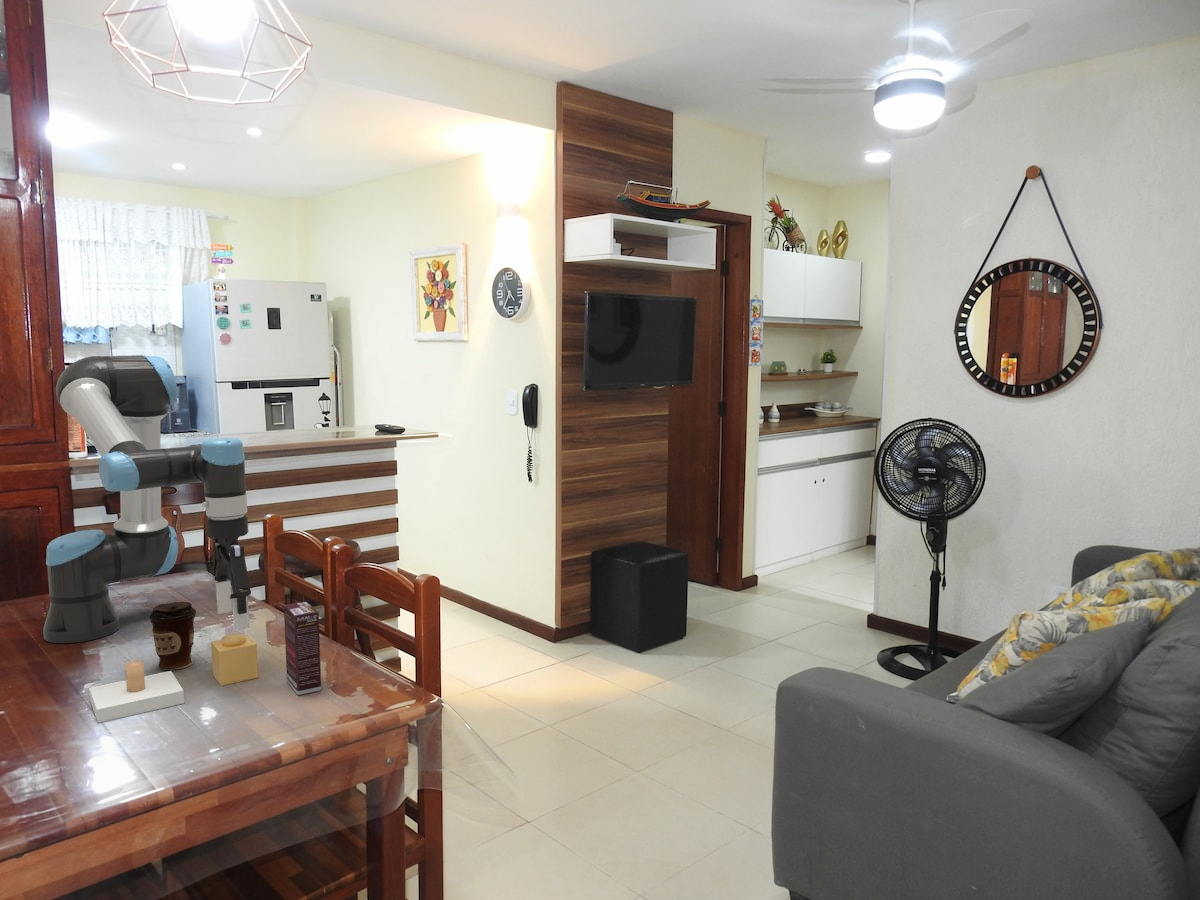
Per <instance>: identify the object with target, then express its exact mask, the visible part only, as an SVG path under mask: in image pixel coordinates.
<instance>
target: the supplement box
mask: <svg viewBox="0 0 1200 900" xmlns="http://www.w3.org/2000/svg"><path fill="white" fill-rule="evenodd" d="M283 617H284V620H283V621H284V622H283V623H284V636H285V637H284V640H285V641H284V642H285V643H284V644H285V664H286V665H285V666H286V668H285V669H286V682H287V684H288V685H289V686H290V687H291V689H292V690H293V691H294V692H295V694H296V695H297V696H301V695H306V694H312V693H316V692H320V691H322V675H321V674H322V672H321V670H322V668H321V644H320V643H321V642H320V613H319V611H318V610H317V609H315V607H313V606H312V605H311V604H310V603H309V602H308V601H302V602H301V601H299V602H294V603H288V604H284V605H283Z"/></svg>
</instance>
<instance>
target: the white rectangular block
mask: <svg viewBox="0 0 1200 900" xmlns="http://www.w3.org/2000/svg"><path fill="white" fill-rule="evenodd" d="M144 664H145V663H144V661H143V660H132V661H128V662H126V663H125V665H124V668H125V669H124V670H125V680H124V679H123V680H121V681H116V682H110V683H106V684H101V685H96V686H91V687H89V688H88V690H89V701H90V704H91V707H92V710H93V713H94V715H95V719H96V722H97V724H100V723H104V722H108V721H112V720H117V719H122V718H127V717H130V716H135V715H139V714H143V713H148V712H152V711H155V710H160V709H165V708H170V707H173V706H177V705H183V704H185V694H184V689H183V688H182V686H181V684H180V682H179V681H178V679H177V678H176V676H175V675H174V673H173V672H172V671H173V670H167V671H163V672H158V673H154V674H149V675H145V666H144Z"/></svg>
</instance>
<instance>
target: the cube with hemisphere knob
mask: <svg viewBox="0 0 1200 900" xmlns="http://www.w3.org/2000/svg"><path fill="white" fill-rule="evenodd" d="M210 644H211V646H210V647H211V648H210V649H211V660H212V661H211V665H212V676H213V677H214V678H215V680H216V681H217V683H218V684H219V685H220V686H221V687H222V686H226V685H231V684H236V683H239V682H246V681H248V680H255V679H258V678H259V670H258V669H259V667H258V650H257V649H258V646H257V645H258V644H257V643H256V642H255V640H253V639H252V638H251V637H250V635H248V634H244V633H230V634H227V635H224V636H222V637H221V639H218V640H213V641H211V642H210Z"/></svg>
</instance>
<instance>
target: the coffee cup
mask: <svg viewBox="0 0 1200 900" xmlns="http://www.w3.org/2000/svg"><path fill="white" fill-rule="evenodd" d="M196 614H197V610H196V609H195V608H193V603H191V602H189V601H174V602H170V603H169V602H168V603H161V604H157V605H155V606H154V607H152V611H151V613H150V615H149V619H150V622H151V625H152V629H151V630H152V637H153V641H154V649H155V653H156V655H157V657H158V658H159V662H158V668H159V669H160V670H162V671H163V670H164V671H166V670H167V671H175V670H181V669H185V668H189V667H190V666H192V665H193V664H194V663H193V660H192V658H191V657H192V655H191V654H192V649H193V645H194V638H195V627H194V622H195V621H194V620H195V618H196Z"/></svg>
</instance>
